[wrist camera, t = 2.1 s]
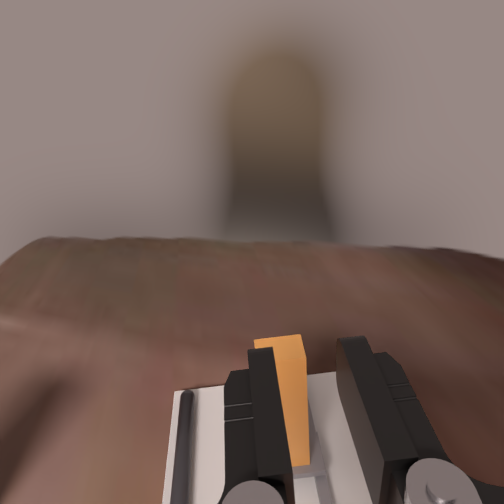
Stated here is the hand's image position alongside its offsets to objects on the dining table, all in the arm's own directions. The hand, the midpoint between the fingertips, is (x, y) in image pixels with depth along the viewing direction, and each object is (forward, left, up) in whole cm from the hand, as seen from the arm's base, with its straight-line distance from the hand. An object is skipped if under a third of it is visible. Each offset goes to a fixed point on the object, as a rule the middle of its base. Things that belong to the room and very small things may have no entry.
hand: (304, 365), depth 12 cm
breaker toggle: (-4, -9, -21) cm, 24 cm away
